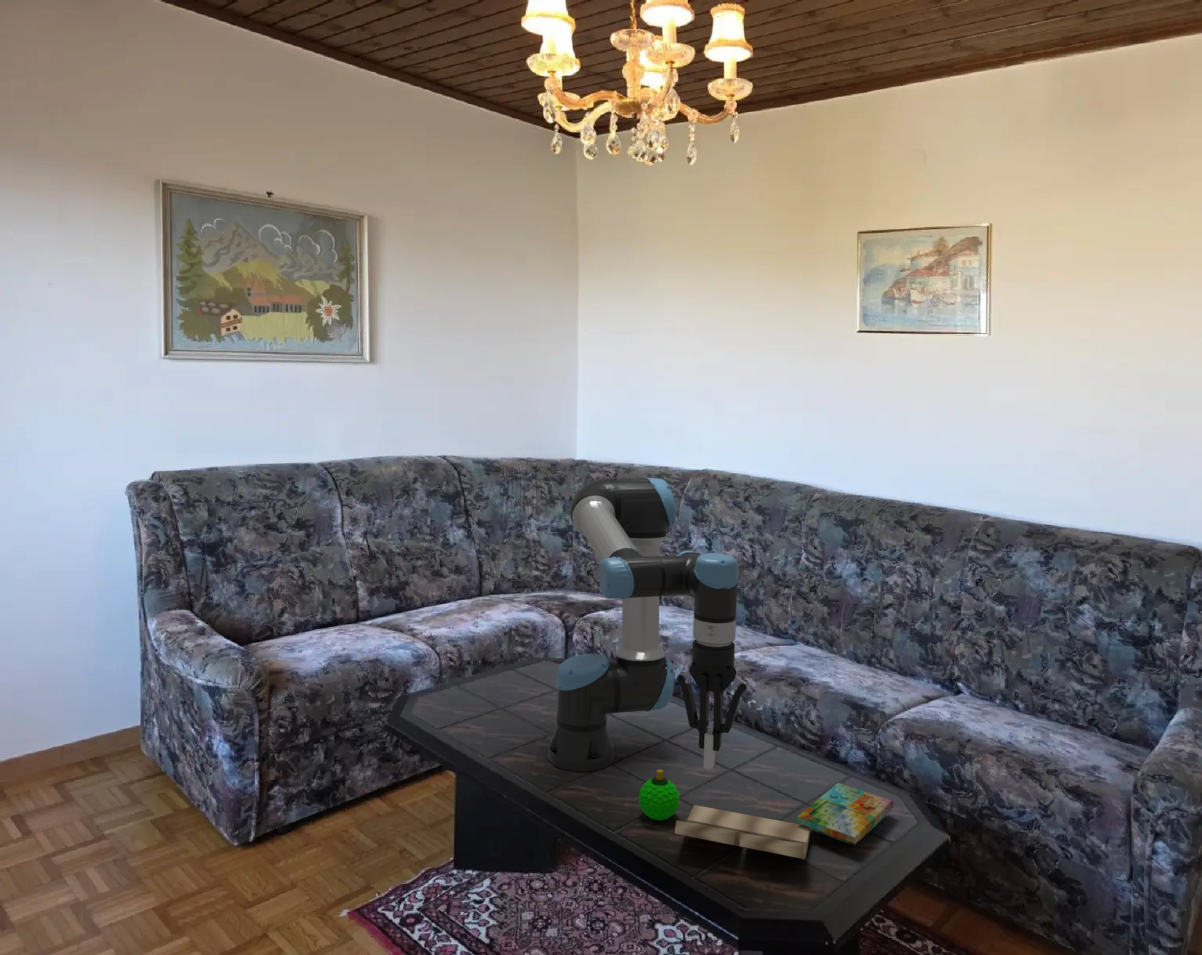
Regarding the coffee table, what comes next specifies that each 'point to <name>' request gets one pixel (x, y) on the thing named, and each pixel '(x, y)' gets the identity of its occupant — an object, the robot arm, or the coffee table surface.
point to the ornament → (659, 797)
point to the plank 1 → (707, 833)
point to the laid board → (750, 825)
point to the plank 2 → (772, 845)
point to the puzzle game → (845, 813)
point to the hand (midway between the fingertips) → (709, 765)
